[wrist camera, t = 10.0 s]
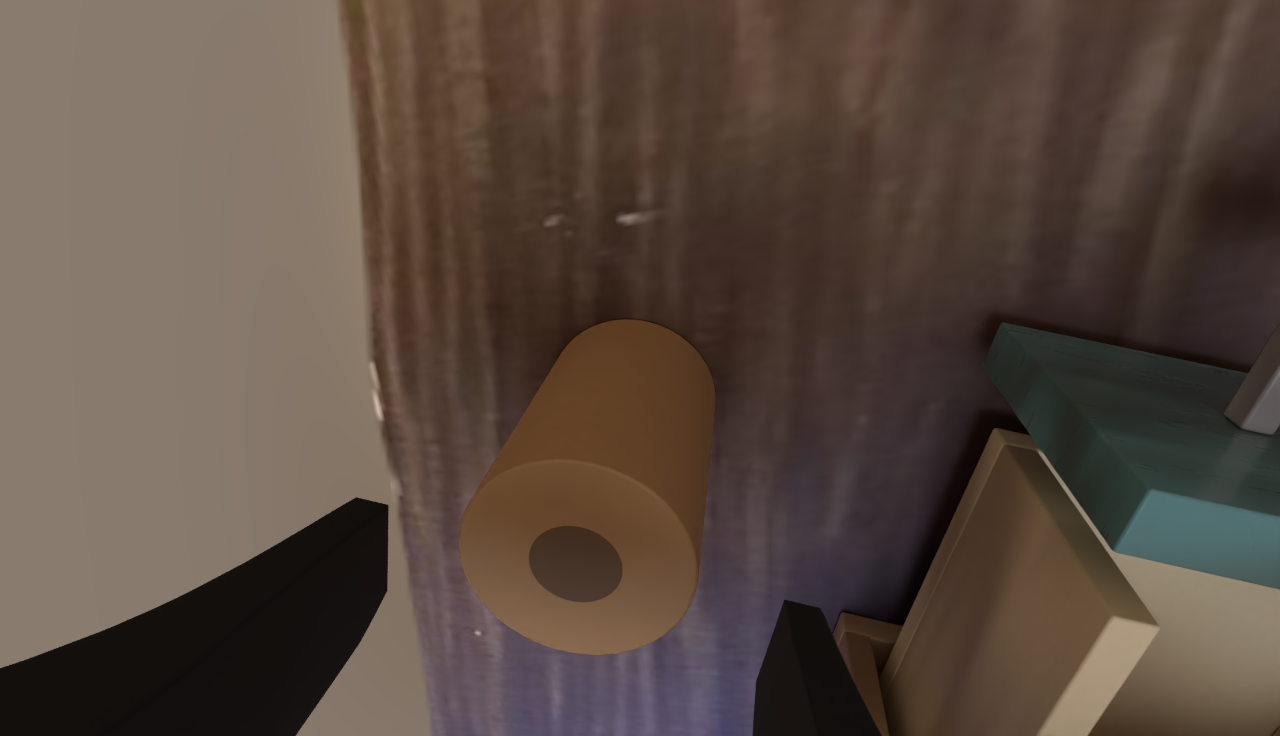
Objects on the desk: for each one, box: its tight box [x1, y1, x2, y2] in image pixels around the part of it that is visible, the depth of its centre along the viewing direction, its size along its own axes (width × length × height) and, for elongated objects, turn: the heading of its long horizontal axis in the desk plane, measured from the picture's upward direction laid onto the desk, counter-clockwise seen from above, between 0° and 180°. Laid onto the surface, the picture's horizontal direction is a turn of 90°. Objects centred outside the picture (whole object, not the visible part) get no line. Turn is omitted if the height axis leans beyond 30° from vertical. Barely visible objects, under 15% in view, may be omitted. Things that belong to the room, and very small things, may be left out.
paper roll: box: [459, 319, 716, 655], centre depth 16 cm, size 5×5×7 cm
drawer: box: [879, 323, 1280, 736], centre depth 15 cm, size 18×12×7 cm
